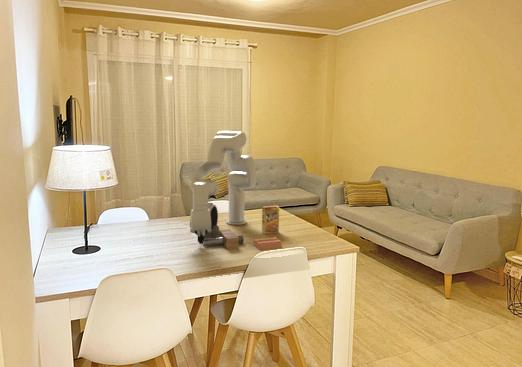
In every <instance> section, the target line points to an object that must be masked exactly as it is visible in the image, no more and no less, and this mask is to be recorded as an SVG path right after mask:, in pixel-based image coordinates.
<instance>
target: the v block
mask: <svg viewBox="0 0 522 367" xmlns="http://www.w3.org/2000/svg"><path fill="white" fill-rule="evenodd" d="M281 242H282V241H281V240H280V239H278V237H275V236H274V237H267V238H265V237H264V238H256V239H253V244H252V245H254V247H256V249H257V250H258V251H262V250H263V251H264V250H270V249H278V248H279V249H280V248H282V243H281Z"/></svg>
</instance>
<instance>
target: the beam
mask: <svg viewBox="0 0 522 367" xmlns="http://www.w3.org/2000/svg"><path fill="white" fill-rule="evenodd" d="M218 237H224V245H223V247H224V248H225V249H226V250H237V249H239V245H240V243H239V237H238V235H237V234H235V233H234V232H233V231H232V230H231V229H230V228H224V229H223V228H222V229H219V236H218Z"/></svg>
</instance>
